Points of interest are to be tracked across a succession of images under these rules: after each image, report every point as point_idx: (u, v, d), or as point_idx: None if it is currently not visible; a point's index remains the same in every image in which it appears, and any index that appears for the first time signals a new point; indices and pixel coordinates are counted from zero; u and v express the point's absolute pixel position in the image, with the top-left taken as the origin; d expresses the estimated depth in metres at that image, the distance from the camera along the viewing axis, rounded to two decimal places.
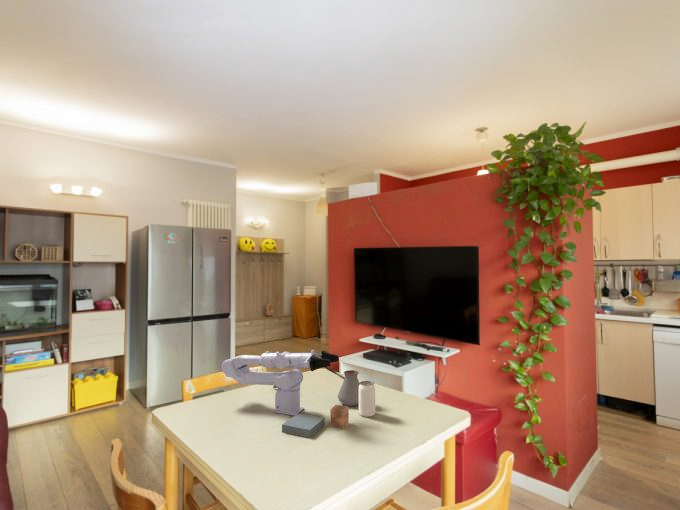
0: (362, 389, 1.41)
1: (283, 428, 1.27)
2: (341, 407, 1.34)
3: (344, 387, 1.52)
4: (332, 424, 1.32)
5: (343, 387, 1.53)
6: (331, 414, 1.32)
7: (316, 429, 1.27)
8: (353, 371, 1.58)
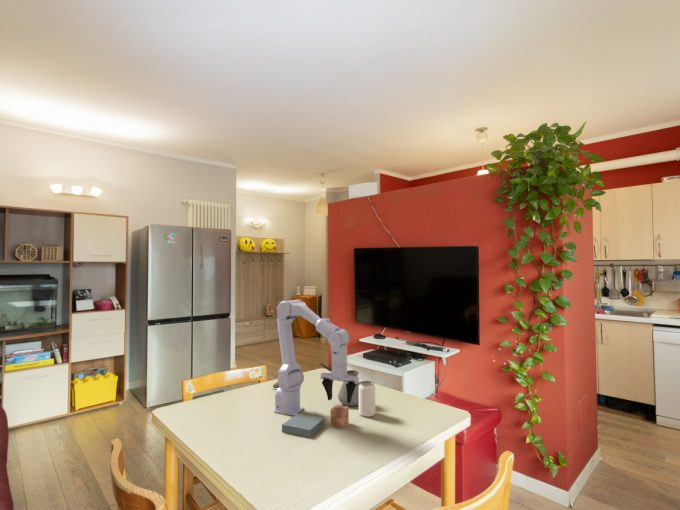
0: (362, 389, 1.41)
1: (283, 428, 1.27)
2: (341, 407, 1.34)
3: (344, 387, 1.52)
4: (332, 424, 1.32)
5: (343, 387, 1.53)
6: (331, 414, 1.32)
7: (316, 429, 1.27)
8: (353, 371, 1.58)
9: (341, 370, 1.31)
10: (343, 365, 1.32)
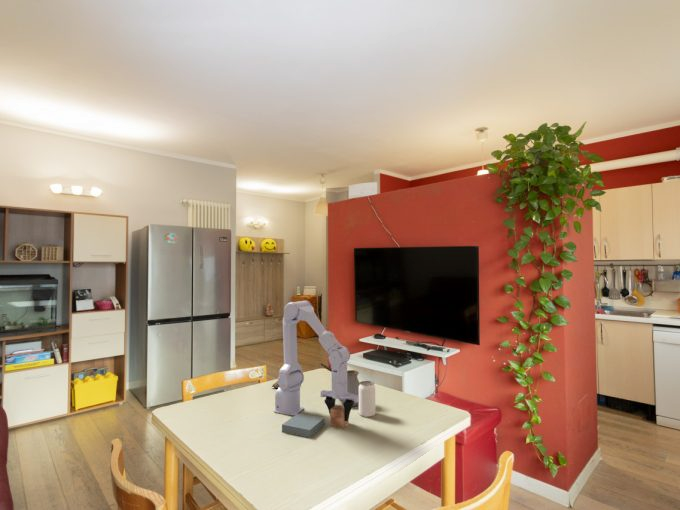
0: (362, 389, 1.41)
1: (283, 428, 1.27)
2: (341, 407, 1.34)
3: None
4: (332, 424, 1.32)
5: None
6: (331, 414, 1.32)
7: (316, 429, 1.27)
8: (353, 371, 1.58)
9: (341, 388, 1.31)
10: (343, 383, 1.31)
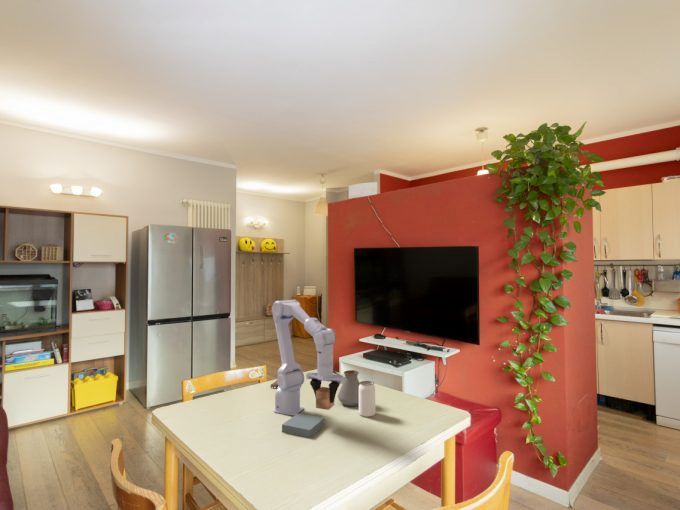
0: (362, 389, 1.41)
1: (283, 428, 1.27)
2: (327, 389, 1.33)
3: (344, 387, 1.52)
4: (317, 406, 1.31)
5: (343, 387, 1.53)
6: (316, 396, 1.31)
7: (316, 429, 1.27)
8: (353, 371, 1.58)
9: (326, 369, 1.30)
10: (329, 365, 1.30)
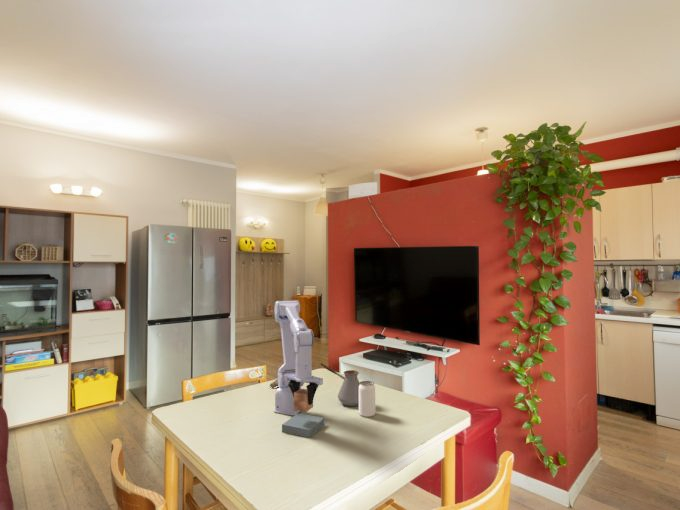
0: (362, 389, 1.41)
1: (283, 428, 1.27)
2: (305, 390, 1.31)
3: (344, 387, 1.52)
4: (295, 408, 1.29)
5: (343, 387, 1.53)
6: (294, 397, 1.29)
7: (316, 429, 1.27)
8: (353, 371, 1.58)
9: (304, 371, 1.28)
10: (307, 366, 1.29)
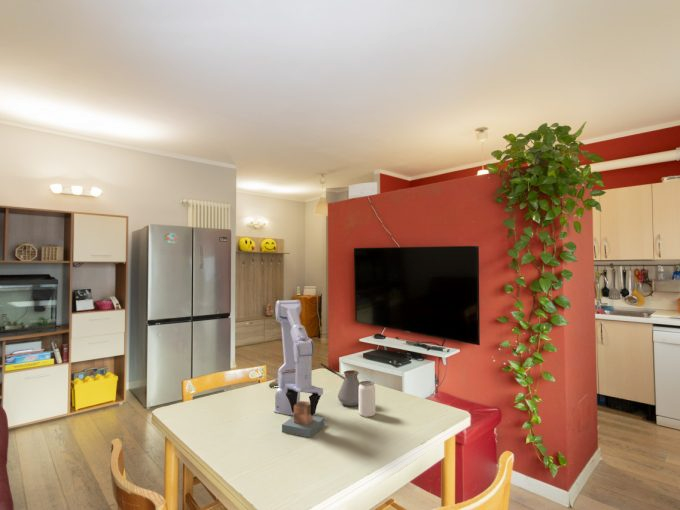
0: (362, 389, 1.41)
1: (283, 428, 1.27)
2: (305, 403, 1.31)
3: (344, 387, 1.52)
4: (295, 420, 1.29)
5: (343, 387, 1.53)
6: (294, 410, 1.29)
7: (316, 429, 1.27)
8: (353, 371, 1.58)
9: (304, 381, 1.28)
10: (307, 376, 1.28)
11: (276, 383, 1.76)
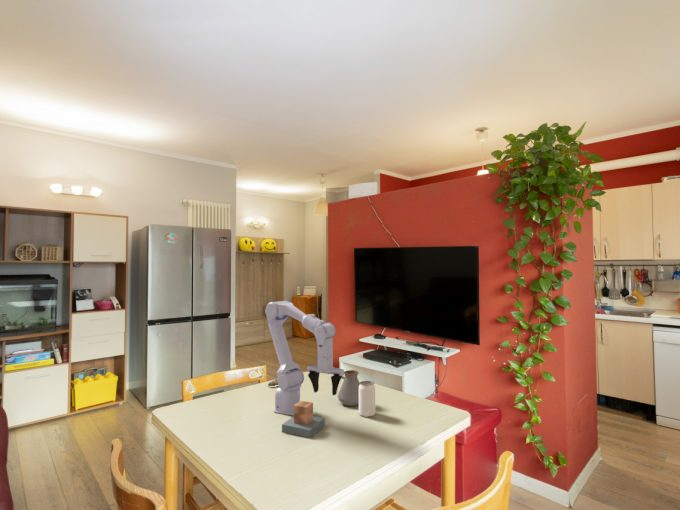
0: (362, 389, 1.41)
1: (283, 428, 1.27)
2: (305, 403, 1.31)
3: (344, 387, 1.52)
4: (295, 420, 1.29)
5: (343, 387, 1.53)
6: (294, 410, 1.29)
7: (316, 429, 1.27)
8: (353, 371, 1.58)
9: (326, 362, 1.34)
10: (328, 358, 1.34)
11: (275, 383, 1.76)
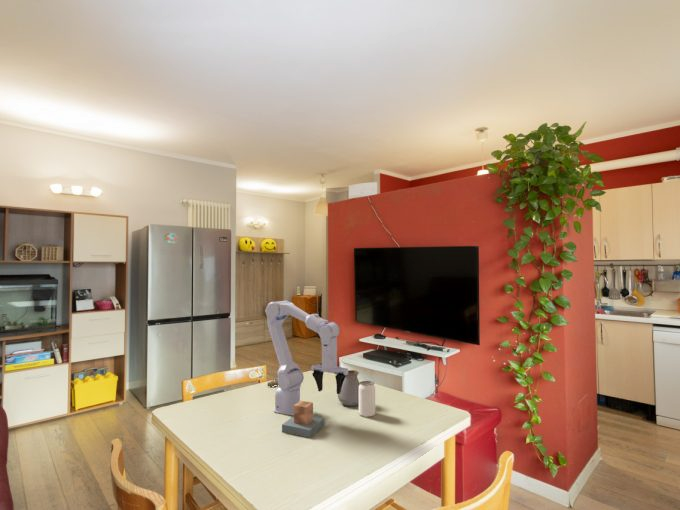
0: (362, 389, 1.41)
1: (283, 428, 1.27)
2: (305, 403, 1.31)
3: (344, 387, 1.52)
4: (295, 420, 1.29)
5: (343, 387, 1.53)
6: (294, 410, 1.29)
7: (316, 429, 1.27)
8: (353, 371, 1.58)
9: (330, 361, 1.35)
10: (333, 357, 1.36)
11: (274, 382, 1.77)
